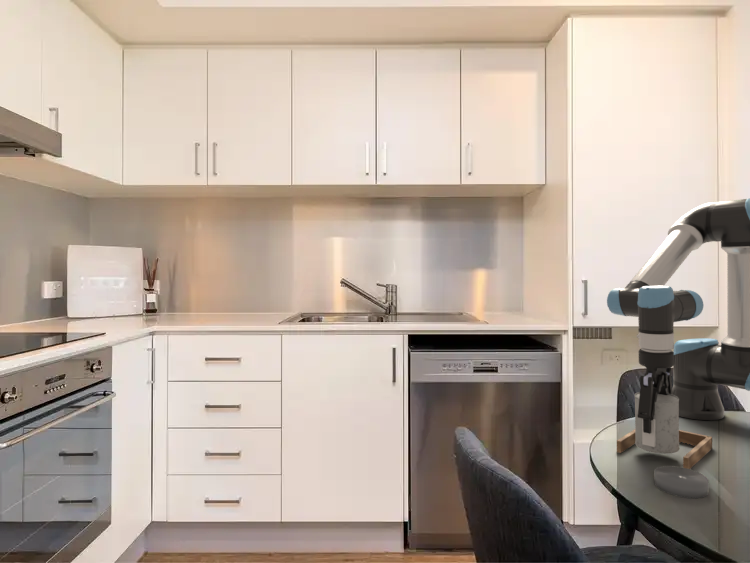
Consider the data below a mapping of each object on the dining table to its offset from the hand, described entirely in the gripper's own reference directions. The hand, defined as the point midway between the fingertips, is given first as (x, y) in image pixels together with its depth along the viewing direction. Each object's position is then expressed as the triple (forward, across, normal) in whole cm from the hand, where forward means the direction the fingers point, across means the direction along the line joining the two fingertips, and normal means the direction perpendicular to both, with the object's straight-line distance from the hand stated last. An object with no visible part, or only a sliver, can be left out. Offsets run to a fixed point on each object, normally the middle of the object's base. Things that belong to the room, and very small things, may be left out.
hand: (656, 439), depth 124 cm
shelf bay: (+5, -6, 0) cm, 7 cm away
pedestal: (+4, +14, +9) cm, 17 cm away
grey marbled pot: (+2, 0, 0) cm, 2 cm away
